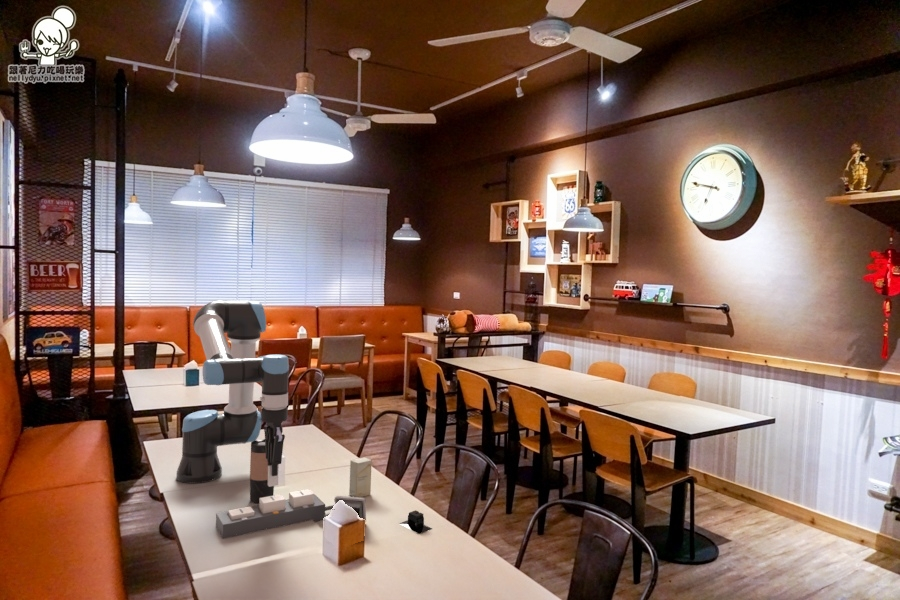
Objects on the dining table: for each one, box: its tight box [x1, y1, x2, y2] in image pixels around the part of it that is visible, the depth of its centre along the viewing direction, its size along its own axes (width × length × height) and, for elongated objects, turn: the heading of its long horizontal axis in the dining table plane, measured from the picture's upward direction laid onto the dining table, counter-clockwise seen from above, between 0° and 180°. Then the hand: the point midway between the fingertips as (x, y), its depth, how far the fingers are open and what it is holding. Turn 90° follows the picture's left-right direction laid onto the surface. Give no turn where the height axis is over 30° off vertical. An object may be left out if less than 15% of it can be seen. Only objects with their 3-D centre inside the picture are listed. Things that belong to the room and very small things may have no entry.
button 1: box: [227, 505, 254, 520], centre depth 169 cm, size 4×6×5 cm
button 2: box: [258, 494, 286, 514], centre depth 174 cm, size 4×6×5 cm
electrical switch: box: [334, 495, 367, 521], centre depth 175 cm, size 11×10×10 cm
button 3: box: [288, 488, 315, 508], centre depth 179 cm, size 4×6×5 cm
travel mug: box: [249, 438, 275, 505], centre depth 189 cm, size 8×8×20 cm
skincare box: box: [348, 456, 373, 498], centre depth 199 cm, size 6×4×12 cm
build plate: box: [398, 510, 433, 535], centre depth 177 cm, size 12×7×5 cm, turn 45°
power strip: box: [215, 493, 335, 539], centre depth 175 cm, size 9×36×5 cm, turn 124°
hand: (272, 485), depth 173 cm, fingers closed
